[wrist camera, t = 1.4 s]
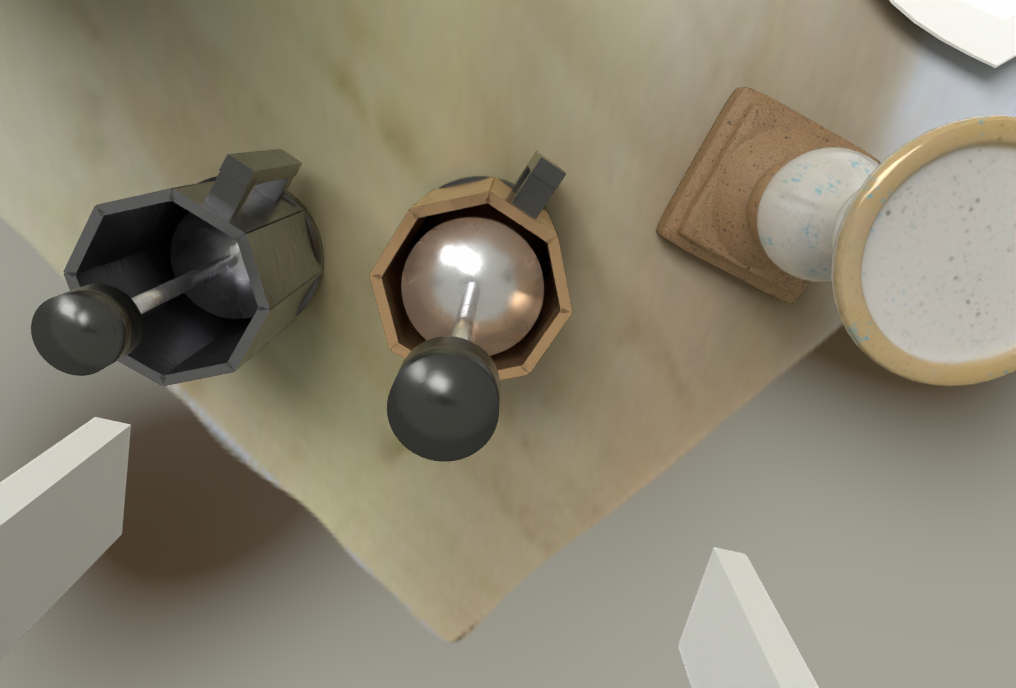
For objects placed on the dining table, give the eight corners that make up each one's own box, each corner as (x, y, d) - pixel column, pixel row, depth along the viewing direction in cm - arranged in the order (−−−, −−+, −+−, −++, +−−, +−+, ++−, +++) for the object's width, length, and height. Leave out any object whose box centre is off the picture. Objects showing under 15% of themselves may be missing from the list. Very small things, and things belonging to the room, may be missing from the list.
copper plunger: (377, 306, 41) (274, 443, 23) (450, 187, 39) (399, 238, 21) (494, 377, 42) (481, 560, 25) (570, 266, 40) (616, 377, 23)
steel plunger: (156, 275, 49) (-49, 361, 31) (207, 175, 47) (21, 205, 29) (260, 337, 50) (121, 453, 32) (314, 242, 48) (198, 310, 30)
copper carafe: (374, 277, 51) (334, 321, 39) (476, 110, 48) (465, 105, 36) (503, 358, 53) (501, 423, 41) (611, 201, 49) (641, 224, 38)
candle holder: (784, 301, 51) (1002, 442, 28) (652, 232, 50) (770, 322, 27) (873, 161, 48) (1196, 193, 26) (736, 84, 47) (948, 44, 24)
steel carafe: (142, 275, 51) (34, 319, 40) (227, 108, 48) (136, 102, 36) (278, 356, 53) (213, 420, 41) (370, 199, 49) (327, 222, 38)
